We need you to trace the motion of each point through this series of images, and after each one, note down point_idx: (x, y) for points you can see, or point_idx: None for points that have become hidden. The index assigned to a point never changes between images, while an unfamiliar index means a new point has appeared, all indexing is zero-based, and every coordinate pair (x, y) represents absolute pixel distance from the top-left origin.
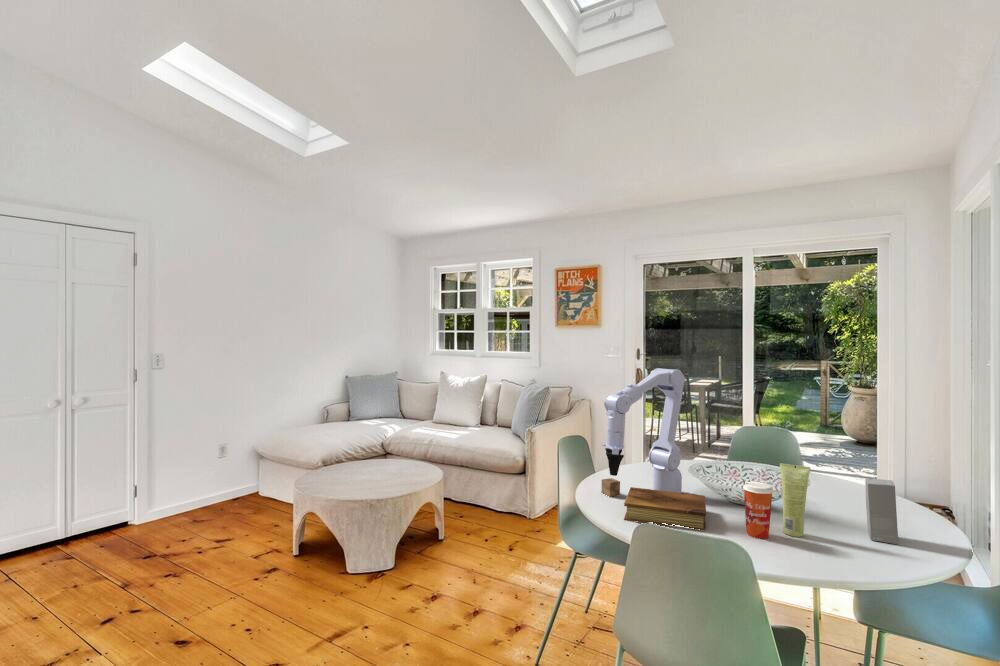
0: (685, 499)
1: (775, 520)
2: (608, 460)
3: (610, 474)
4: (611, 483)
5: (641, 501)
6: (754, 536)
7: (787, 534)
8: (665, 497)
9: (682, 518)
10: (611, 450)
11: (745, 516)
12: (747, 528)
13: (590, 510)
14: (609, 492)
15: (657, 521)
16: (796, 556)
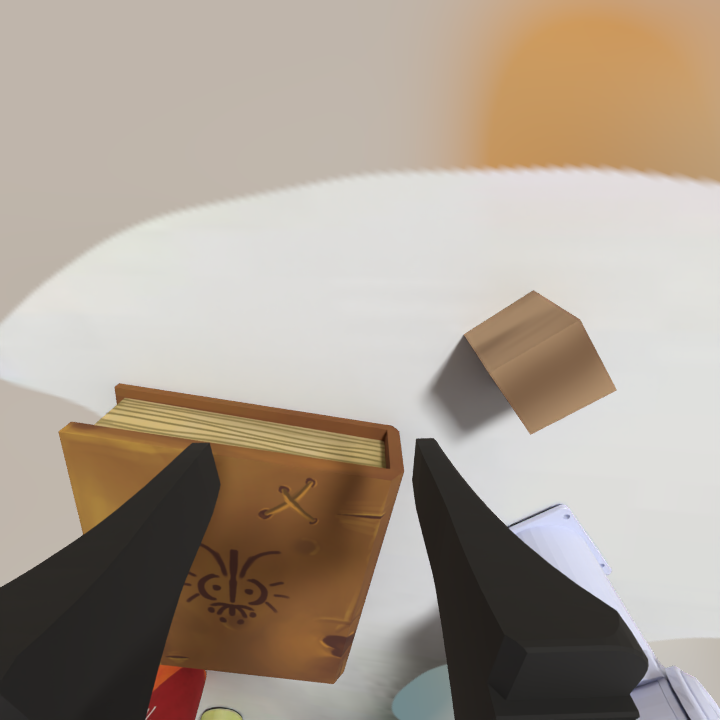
0: (255, 636)
1: (312, 713)
2: (34, 568)
3: (186, 448)
4: (494, 380)
5: None
6: None
7: (209, 710)
8: (252, 588)
9: None
10: (484, 689)
11: (157, 715)
12: (159, 678)
13: (187, 220)
14: (472, 344)
15: None
16: None
